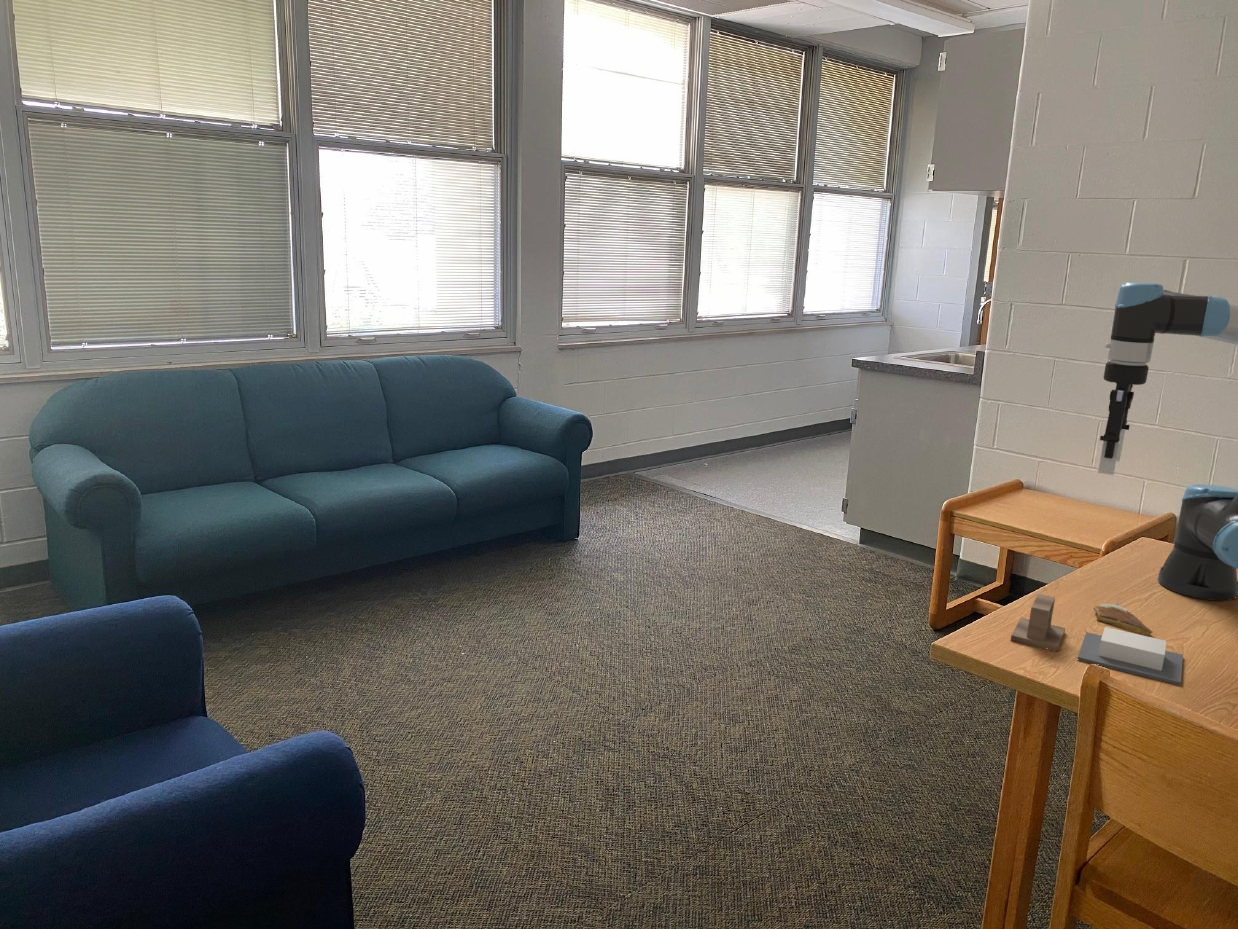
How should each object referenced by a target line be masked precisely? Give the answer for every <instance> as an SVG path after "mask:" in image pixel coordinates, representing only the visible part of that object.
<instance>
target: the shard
mask: <svg viewBox="0 0 1238 929" xmlns="http://www.w3.org/2000/svg"><path fill="white" fill-rule="evenodd" d="M1093 610H1094V611H1095V613H1096V614H1097V615H1096V621H1098V622H1103V623H1106V624H1110V625H1112V626H1114V627H1115V626H1116V627H1120V628H1122V629H1124V630H1128V631H1131V632H1132V633H1135V634H1139V635H1143V636H1147V637H1151V634H1152V633H1154V632H1153V631H1152V630H1151V629H1150V628H1149V627H1148V626H1146V625H1145V624H1144V623H1143V622H1142V621H1141V620H1140V619H1139V618H1138V617H1136V616H1135V615H1134V614H1133V613H1131V612H1130V611H1129V610H1128V609H1127V610H1128V611H1127V610H1123V609H1120V608H1115V607H1101V606H1100V605H1099V606H1098V605H1096V606H1093Z"/></svg>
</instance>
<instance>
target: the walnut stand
mask: <svg viewBox="0 0 1238 929" xmlns="http://www.w3.org/2000/svg"><path fill="white" fill-rule="evenodd" d="M1034 599H1035V600H1034V602H1033V603H1032V605H1031V610H1030V613H1029V615H1030V616H1029V618H1025V617H1024V618H1023V617H1019V620H1018V622H1017V624H1016V626H1015V628H1014V630H1013V632H1012V633H1011V635H1010V641H1012V642H1017V643H1020V644H1024V643H1025V645H1028V644H1029V646H1032V645H1034V646H1033V647H1037V648H1040V647H1042V648H1041V649H1044V648H1048V649H1050V650H1049V651H1052V650H1055V651H1054V652H1056V651H1057V650H1059V648H1060V645H1061V643H1062V641H1063V637H1064V635H1065V631H1066V628H1065V627H1063V626H1058V625H1055V624H1054V625H1053V624H1052V620H1053V619H1052V618H1053V615H1054V614H1053V612H1054V608H1055V601H1056V597H1055V596H1050V595H1045V594H1041V593H1037V595H1036V598H1034ZM1048 649H1047V650H1048ZM1057 652H1058V651H1057Z"/></svg>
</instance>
